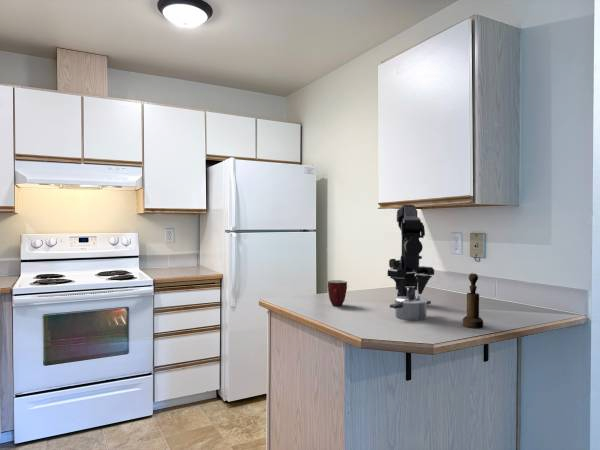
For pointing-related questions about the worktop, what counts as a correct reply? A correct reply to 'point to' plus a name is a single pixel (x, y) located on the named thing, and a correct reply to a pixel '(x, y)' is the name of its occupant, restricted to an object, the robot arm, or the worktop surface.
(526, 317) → the worktop surface
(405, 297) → the lid
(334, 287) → the mug
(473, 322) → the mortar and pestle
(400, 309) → the pot
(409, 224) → the robot arm
